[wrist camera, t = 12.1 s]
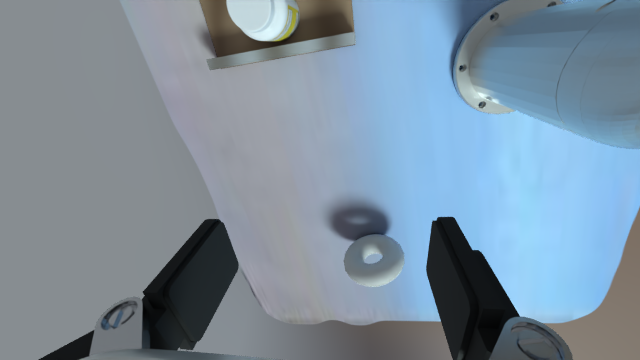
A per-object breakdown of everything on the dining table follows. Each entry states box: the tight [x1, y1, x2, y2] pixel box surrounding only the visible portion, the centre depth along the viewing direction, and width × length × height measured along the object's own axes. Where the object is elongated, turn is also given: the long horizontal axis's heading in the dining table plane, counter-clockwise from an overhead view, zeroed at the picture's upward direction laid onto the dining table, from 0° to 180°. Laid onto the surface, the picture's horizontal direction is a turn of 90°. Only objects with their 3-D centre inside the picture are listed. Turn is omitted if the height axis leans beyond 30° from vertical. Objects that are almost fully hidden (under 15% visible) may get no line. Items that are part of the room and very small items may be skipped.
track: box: [200, 0, 356, 70], centre depth 29 cm, size 18×9×4 cm, turn 99°
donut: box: [344, 234, 404, 287], centre depth 41 cm, size 10×3×10 cm, turn 110°
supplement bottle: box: [226, 0, 299, 41], centre depth 25 cm, size 5×5×10 cm
